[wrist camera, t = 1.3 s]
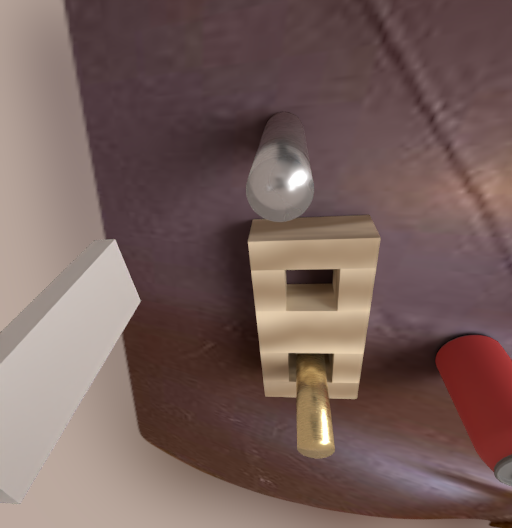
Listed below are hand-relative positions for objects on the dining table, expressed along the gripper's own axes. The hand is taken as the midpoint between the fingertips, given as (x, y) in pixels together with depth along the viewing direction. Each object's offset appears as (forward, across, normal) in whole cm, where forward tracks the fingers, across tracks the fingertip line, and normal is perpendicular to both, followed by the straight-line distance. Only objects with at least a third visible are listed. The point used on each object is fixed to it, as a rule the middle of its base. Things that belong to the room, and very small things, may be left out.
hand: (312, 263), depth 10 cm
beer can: (+17, +17, -24) cm, 34 cm away
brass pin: (+16, 0, -22) cm, 27 cm away
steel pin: (+17, -1, +1) cm, 17 cm away
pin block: (+16, 0, -16) cm, 23 cm away
